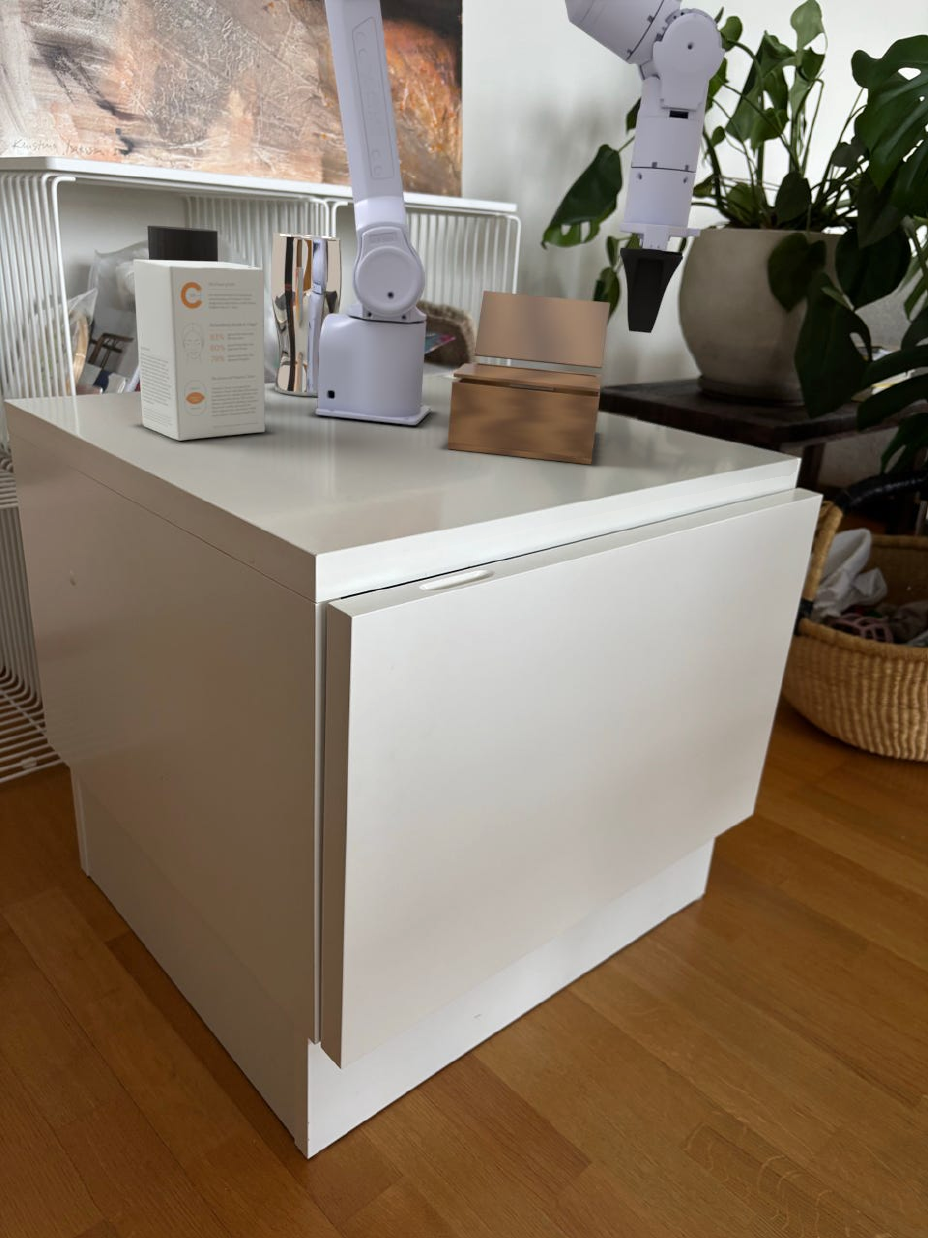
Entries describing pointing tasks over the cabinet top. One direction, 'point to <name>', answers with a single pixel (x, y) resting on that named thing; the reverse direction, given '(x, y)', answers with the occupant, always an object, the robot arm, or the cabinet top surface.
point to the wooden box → (524, 412)
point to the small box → (200, 347)
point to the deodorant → (182, 244)
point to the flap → (542, 329)
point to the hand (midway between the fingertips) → (639, 331)
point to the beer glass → (303, 304)
